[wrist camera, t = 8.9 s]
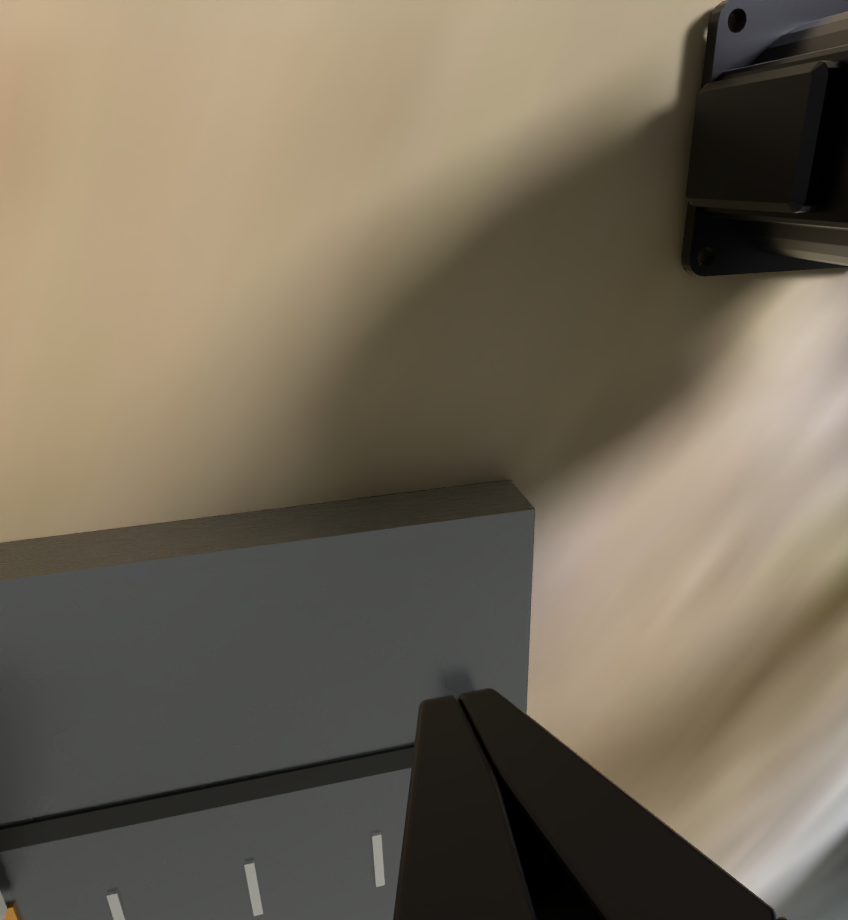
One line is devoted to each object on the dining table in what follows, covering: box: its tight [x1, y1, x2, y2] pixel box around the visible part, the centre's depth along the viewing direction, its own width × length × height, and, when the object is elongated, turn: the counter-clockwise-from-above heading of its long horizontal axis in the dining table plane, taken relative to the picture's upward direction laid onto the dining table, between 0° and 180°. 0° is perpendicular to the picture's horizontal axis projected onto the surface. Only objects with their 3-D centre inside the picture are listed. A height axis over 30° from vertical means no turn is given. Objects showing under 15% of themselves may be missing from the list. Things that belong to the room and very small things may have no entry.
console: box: [0, 480, 535, 920], centre depth 20 cm, size 22×16×4 cm
